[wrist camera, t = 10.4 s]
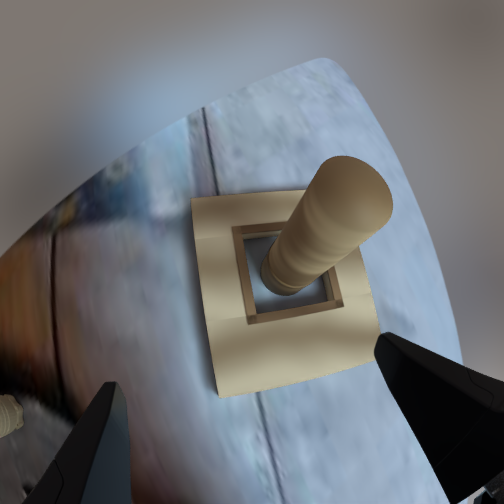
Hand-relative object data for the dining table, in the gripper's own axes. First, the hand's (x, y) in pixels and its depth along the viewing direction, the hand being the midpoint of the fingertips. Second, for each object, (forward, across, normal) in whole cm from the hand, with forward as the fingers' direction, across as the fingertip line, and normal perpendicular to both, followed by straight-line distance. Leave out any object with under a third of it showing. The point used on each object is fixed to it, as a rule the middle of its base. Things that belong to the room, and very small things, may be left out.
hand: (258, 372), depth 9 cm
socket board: (+14, -6, +6) cm, 16 cm away
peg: (+14, -6, +5) cm, 16 cm away
